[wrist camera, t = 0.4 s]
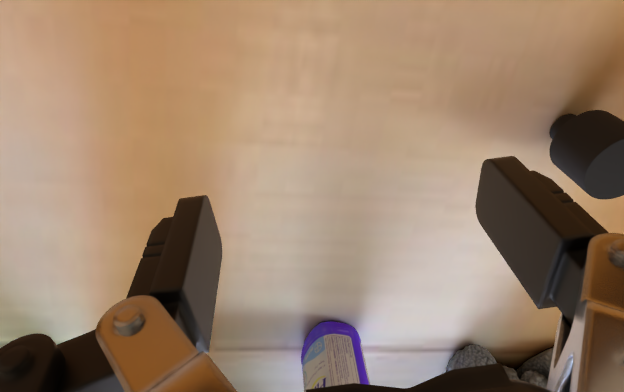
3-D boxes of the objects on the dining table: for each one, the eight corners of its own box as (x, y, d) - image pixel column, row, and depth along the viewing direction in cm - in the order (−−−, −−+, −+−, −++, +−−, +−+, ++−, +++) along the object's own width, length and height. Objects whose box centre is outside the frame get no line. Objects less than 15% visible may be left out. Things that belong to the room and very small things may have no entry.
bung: (540, 102, 30) (596, 140, 25) (605, 94, 30) (673, 130, 25) (527, 158, 32) (574, 203, 27) (586, 151, 33) (644, 194, 27)
